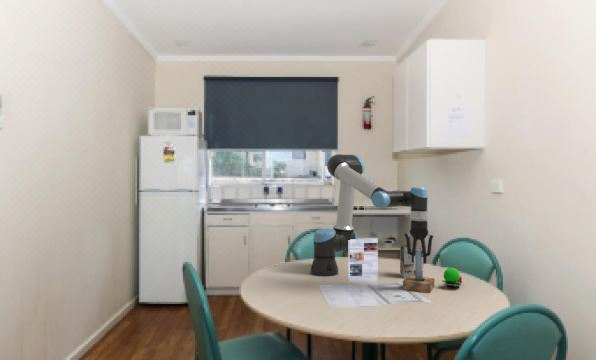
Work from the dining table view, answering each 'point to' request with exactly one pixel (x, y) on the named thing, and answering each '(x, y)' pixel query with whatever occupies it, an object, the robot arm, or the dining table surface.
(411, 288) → the bead block
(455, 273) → the toy
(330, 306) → the dining table surface
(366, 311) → the dining table surface
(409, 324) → the dining table surface
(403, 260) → the coffee box
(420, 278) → the needle dowel
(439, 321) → the dining table surface
